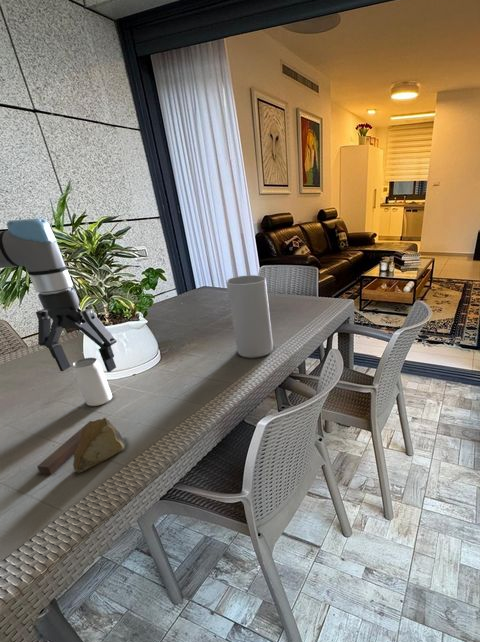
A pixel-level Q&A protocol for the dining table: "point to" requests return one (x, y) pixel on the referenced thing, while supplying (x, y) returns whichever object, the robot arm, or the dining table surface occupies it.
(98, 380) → the can
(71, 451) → the walnut stick
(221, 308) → the dining table surface
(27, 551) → the dining table surface
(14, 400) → the dining table surface
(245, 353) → the cylinder vase
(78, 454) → the rock
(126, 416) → the dining table surface
